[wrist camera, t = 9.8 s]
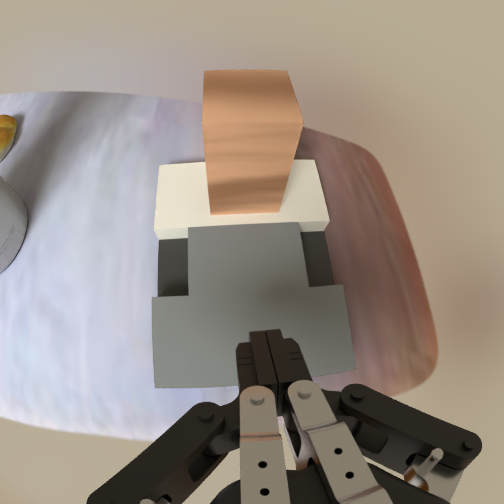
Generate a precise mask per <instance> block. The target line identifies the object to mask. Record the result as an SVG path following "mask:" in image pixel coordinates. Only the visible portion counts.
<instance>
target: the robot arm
mask: <svg viewBox="0 0 504 504" xmlns="http://www.w3.org/2000/svg"><path fill="white" fill-rule="evenodd" d="M26 228H27V210H26V206H25V204H24V203H23V201H22V200H21V199H20V198H19V197H18V196H17V194H16V193H15V192H14V191H13V190H12V189H11V188H10V187H9V185H8V184H7V183H6V182H5V181H4V179H3V178H2V177H1V176H0V273H1V272H2V271H4V270H5V269H6V268H7V267H8V265H9V264H10V263H11V262H12V260H13V259H14V257H15V256H16V254H17V252H18V250H19V249H20V247H21V244H22V242H23V239H24V236H25V232H26ZM235 352H236V366H237V377H238V386H239V395H238V397H237V398H236V399H235V400H234V401H232V402H231V403H229V404H226V405H223V406H219V405H217V404H215V403H212V402H202V403H198V404H196V405H194V406H193V407H192V408H191V409H190V410H189V411H188V412H187V413H185V414H184V415H183V416H182V417H181V418H180V419H179V420H178V421H177V422H176V423H175V424H174V425H172V426H171V427H170V428H169V429H168V430H167V431H166V432H165V433H164V434H162V435H161V436H160V437H159V438H158V439H157V440H156V441H155V442H153V443H152V444H151V445H150V446H149V447H148V448H147V449H145V450H144V451H143V452H142V453H141V454H140V455H138V456H137V458H135V459H134V460H133V461H131V462H130V463H129V464H128V465H127V466H125V467H124V468H123V469H122V470H121V471H119V472H118V473H117V474H116V475H114V476H113V477H112V478H111V479H109V480H108V481H107V482H106V483H104V484H103V485H102V486H101V487H99V488H98V489H97V490H96V491H94V492H93V493H92V494H91V495H90V496H89V497H88V499H87V504H182V503H183V502H184V501H185V500H186V499H187V498H188V497H189V496H190V495H191V494H192V493H193V492H194V491H195V490H196V489H197V488H198V487H199V486H200V484H201V483H202V482H203V481H204V480H205V479H206V478H207V477H208V476H209V475H210V474H211V473H212V472H213V470H214V469H215V468H216V467H217V466H218V465H219V464H220V463H221V462H222V460H223V459H224V458H225V457H226V456H227V455H228V453H229V452H230V451H233V450H235V449H238V448H240V476H241V477H240V480H238V481H235V482H233V483H231V484H230V485H228V486H227V487H225V488H224V489H223V490H222V491H220V492H219V494H218V495H217V496H216V497H215V498H214V499H213V501H212V502H211V503H210V504H450V503H449V502H450V500H451V498H452V496H453V494H454V492H455V489H456V487H457V485H458V483H459V481H460V478H461V476H462V473H463V471H464V469H465V468H466V467H467V466H468V465H469V464H470V463H471V462H472V461H473V460H474V459H475V458H476V457H477V456H478V455H479V453H480V452H481V449H482V442H481V439H480V438H479V436H477V434H475V433H473V432H470V431H468V430H465V429H463V428H460V427H458V426H455V425H452V424H450V423H447V422H445V421H443V420H440V419H438V418H435V417H433V416H431V415H428V414H426V413H423V412H421V411H419V410H417V409H414V408H412V407H409V406H408V405H405V404H403V403H401V402H399V401H397V400H394V399H392V398H390V397H388V396H386V395H383V394H381V393H379V392H377V391H375V390H373V389H371V388H369V387H367V386H364V385H362V384H350V385H348V386H346V387H345V388H344V389H343V390H342V392H338V391H327V390H324V389H321V388H320V387H319V386H318V385H317V384H316V383H314V382H313V380H312V378H311V375H310V373H309V370H308V367H307V365H306V362H305V360H304V357H303V354H302V353H301V349H300V347H299V344H298V343H297V342H296V341H295V340H294V339H293V338H285V339H284V338H283V335H282V332H281V330H280V329H272V330H265V332H264V330H261V331H250V332H249V342H243V343H239V344H238V346H237V348H236V350H235ZM278 416H283V418H284V431H285V434H286V437H287V440H288V442H289V445H290V448H291V451H292V454H293V457H294V460H295V463H296V470H286V467H285V459H284V452H283V444H282V437H281V435H280V434H279V428H278V420H277V417H278ZM363 456H365V457H367V458H369V459H371V460H373V461H375V462H377V463H379V464H381V465H383V466H385V467H387V468H390V469H392V470H394V471H396V472H398V473H400V474H402V475H404V480H405V481H404V480H402V479H400V478H398V477H396V476H394V475H392V474H390V473H388V472H386V471H384V470H383V469H380V468H379V467H377V466H375V465H373V464H370V463H367V462H366V461H365V459H364V457H363Z"/></svg>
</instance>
